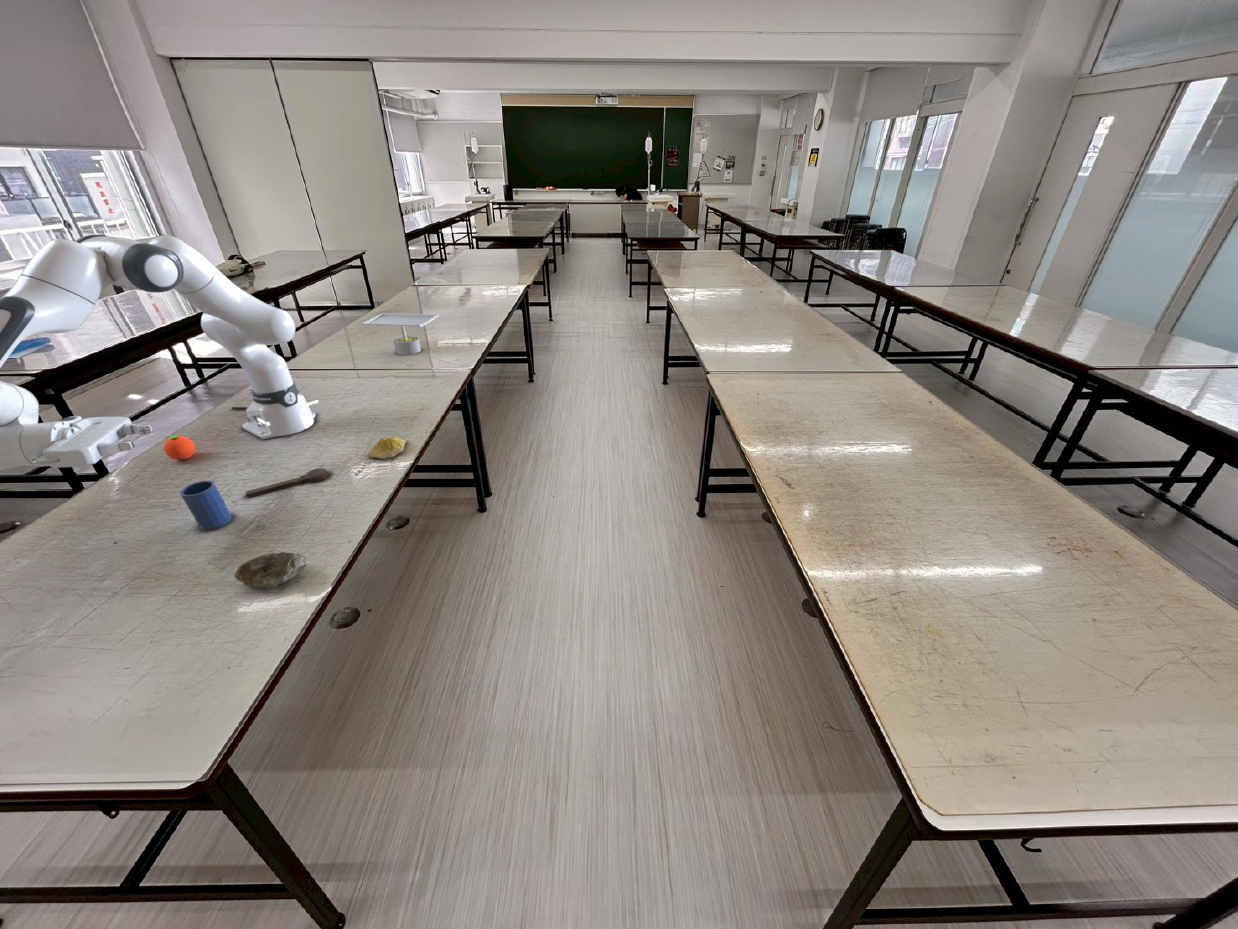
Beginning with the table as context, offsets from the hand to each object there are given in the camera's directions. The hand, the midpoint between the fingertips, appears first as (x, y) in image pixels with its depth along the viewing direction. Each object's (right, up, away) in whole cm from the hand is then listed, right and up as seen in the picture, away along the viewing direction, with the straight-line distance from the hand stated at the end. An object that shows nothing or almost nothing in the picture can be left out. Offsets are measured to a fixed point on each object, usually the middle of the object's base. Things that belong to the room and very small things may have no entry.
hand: (141, 436), depth 107 cm
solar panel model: (+6, +46, +121) cm, 129 cm away
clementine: (-26, -4, +40) cm, 48 cm away
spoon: (+14, -12, +27) cm, 33 cm away
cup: (+5, -20, +13) cm, 25 cm away
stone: (+32, -30, -3) cm, 44 cm away
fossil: (+34, -2, +42) cm, 54 cm away
